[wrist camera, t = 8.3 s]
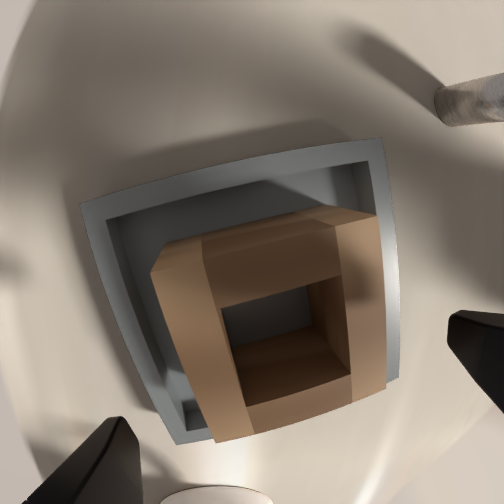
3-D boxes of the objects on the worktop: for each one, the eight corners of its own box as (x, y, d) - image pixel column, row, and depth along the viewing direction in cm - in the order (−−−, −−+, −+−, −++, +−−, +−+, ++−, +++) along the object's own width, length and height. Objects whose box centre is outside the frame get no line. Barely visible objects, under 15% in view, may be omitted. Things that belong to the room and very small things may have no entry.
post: (456, 88, 13) (531, 73, 7) (464, 126, 13) (542, 120, 8) (430, 86, 13) (509, 66, 7) (439, 127, 13) (522, 118, 8)
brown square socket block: (343, 341, 14) (385, 388, 10) (209, 380, 13) (215, 443, 9) (325, 204, 12) (377, 215, 8) (165, 242, 12) (149, 272, 8)
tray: (356, 141, 13) (381, 137, 11) (379, 358, 15) (398, 377, 13) (97, 200, 11) (79, 203, 9) (176, 418, 14) (176, 445, 12)
